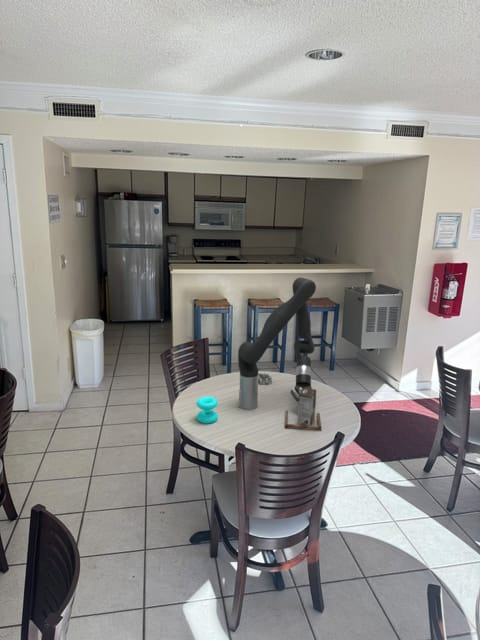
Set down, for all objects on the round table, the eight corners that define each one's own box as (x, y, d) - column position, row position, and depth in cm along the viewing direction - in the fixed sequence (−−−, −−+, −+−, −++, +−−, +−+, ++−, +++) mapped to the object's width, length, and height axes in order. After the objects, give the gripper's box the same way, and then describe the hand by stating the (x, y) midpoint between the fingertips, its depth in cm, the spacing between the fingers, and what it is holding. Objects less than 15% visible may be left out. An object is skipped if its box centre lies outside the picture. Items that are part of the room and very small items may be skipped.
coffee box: (301, 417, 210) (303, 386, 206) (315, 420, 208) (316, 389, 204) (296, 426, 202) (298, 394, 198) (310, 429, 200) (312, 396, 195)
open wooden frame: (284, 428, 200) (285, 424, 200) (285, 414, 214) (285, 410, 213) (321, 430, 198) (321, 427, 198) (319, 416, 212) (319, 413, 211)
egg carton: (272, 385, 248) (272, 378, 247) (259, 385, 247) (259, 379, 246) (269, 377, 258) (269, 371, 257) (256, 378, 258) (256, 371, 257)
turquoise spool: (192, 401, 203) (204, 393, 212) (192, 421, 206) (204, 412, 214) (210, 406, 198) (221, 398, 207) (210, 426, 201) (221, 417, 209)
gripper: (290, 372, 216) (289, 406, 207) (317, 374, 214) (317, 408, 206) (289, 378, 222) (288, 411, 213) (316, 380, 221) (316, 413, 212)
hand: (302, 409), depth 210 cm, fingers closed
